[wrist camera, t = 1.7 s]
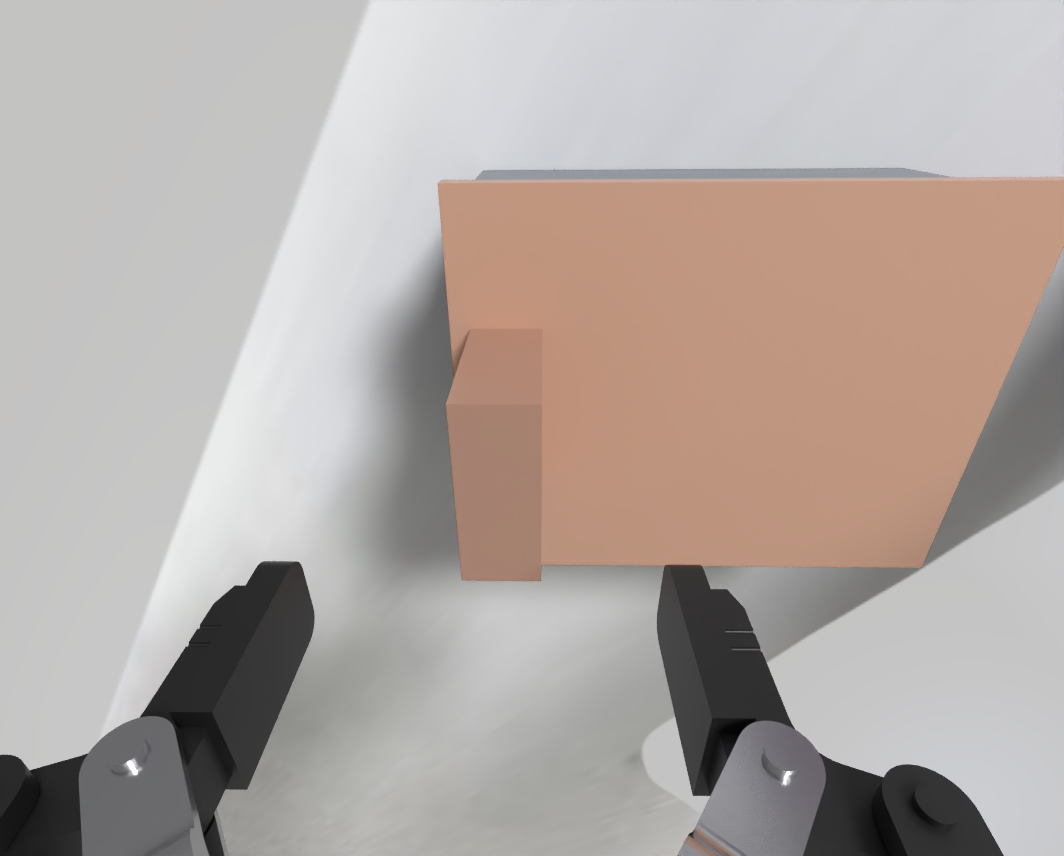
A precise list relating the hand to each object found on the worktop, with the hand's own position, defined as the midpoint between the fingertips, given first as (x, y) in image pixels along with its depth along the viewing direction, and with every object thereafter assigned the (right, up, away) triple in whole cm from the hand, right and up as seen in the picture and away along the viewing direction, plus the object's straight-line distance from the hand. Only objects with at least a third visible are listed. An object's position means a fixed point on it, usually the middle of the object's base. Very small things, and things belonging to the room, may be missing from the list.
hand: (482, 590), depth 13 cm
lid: (+8, +5, +10) cm, 14 cm away
